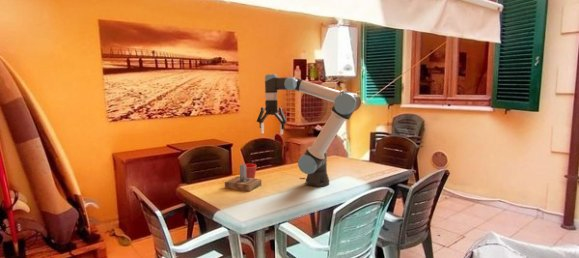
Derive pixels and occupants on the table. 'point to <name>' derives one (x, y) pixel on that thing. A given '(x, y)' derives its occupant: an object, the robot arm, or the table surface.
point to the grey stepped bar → (243, 173)
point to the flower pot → (250, 170)
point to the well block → (243, 184)
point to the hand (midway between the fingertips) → (271, 133)
